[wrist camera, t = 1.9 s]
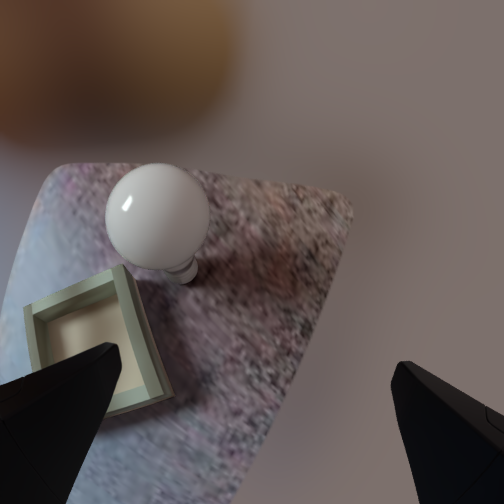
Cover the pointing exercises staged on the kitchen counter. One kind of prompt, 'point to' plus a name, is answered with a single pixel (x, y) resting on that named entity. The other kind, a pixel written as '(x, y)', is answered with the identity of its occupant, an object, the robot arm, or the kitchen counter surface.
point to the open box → (101, 335)
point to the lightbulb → (159, 219)
